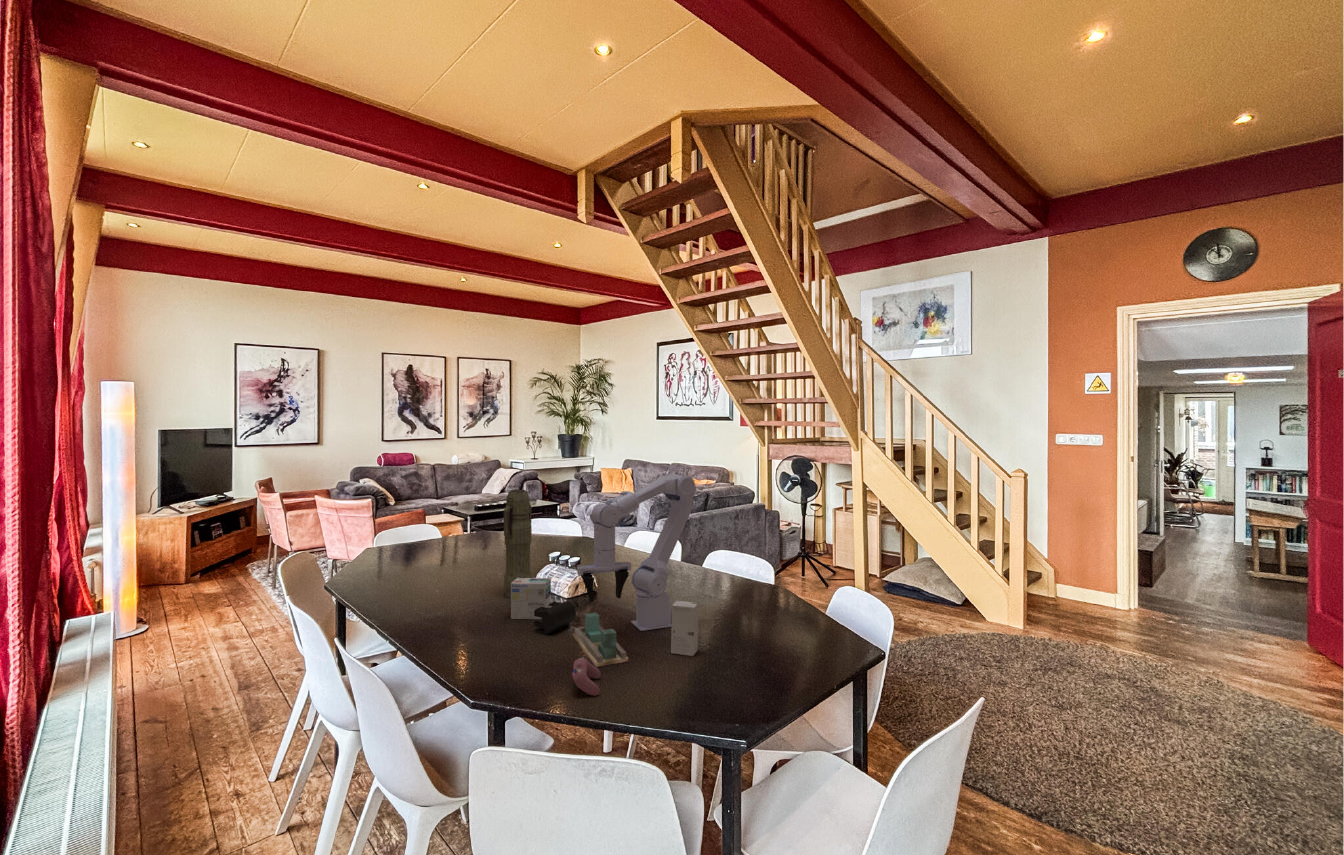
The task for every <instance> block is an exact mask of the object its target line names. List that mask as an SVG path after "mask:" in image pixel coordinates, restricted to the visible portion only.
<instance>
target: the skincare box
mask: <svg viewBox="0 0 1344 855" xmlns="http://www.w3.org/2000/svg"><path fill="white" fill-rule="evenodd" d="M699 607H700V604H699V602H694V601H693V602H692V601H682V600H676V601H675V602H674V603H673V604H671V624H672V626H671V630H670V631H671V632H670V633H671V636H670V637H671V639H670V641H671V642H670V643H671V644H670V653H671V654H677V655H682V656H689V657H693V656H695V654H696V653H697V651H698V648H699V646H698V645H699V644H698V643H699V641H698V640H699V639H698V638H699V613H700V612H699Z"/></svg>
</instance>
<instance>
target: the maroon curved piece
mask: <svg viewBox="0 0 1344 855" xmlns="http://www.w3.org/2000/svg"><path fill="white" fill-rule="evenodd" d="M572 666H573V672H571V675H572V680H573V681H574V684H575V686H576V687H577V688H579V689H580V690H581V691H582V692H584V693H586V694H587V695H590V696H591V697H592V696H593V697H594V696H595V697H596V696H598V695H599V694H600V692H601V690H600V687H599V686H598V684H597V683H596V682H594V681H592V679H594V680H595V679H600V678H601V675H602V673H601V671H600V669H599V668H598V667H596V666H595V665H594V664H593V663H591V662H590V661H589V660H588V659H587V658H585V657H584V656H583V657H581V658H577V659H575V660H574V661H573V665H572Z"/></svg>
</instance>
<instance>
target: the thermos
mask: <svg viewBox="0 0 1344 855" xmlns="http://www.w3.org/2000/svg"><path fill="white" fill-rule="evenodd" d="M530 500H531V499H530V496H529V493H528V491H527V490H525V489H512V490H510V491H508V493H507V497H506V504H505V505H506V506H504V509H503V537H504V545H505V573H504V580H503V581H504V583H503V584H504V585H503V587H504V588H503V589H504V597H505V598H507V599H511V583H512V582H513V581H514V580H515V579H517V578H533V577H532V576H533V574H532V572H531V544H532V538H533V536H532V532H533V531H532V505H531V503H530Z"/></svg>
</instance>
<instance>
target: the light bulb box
mask: <svg viewBox="0 0 1344 855" xmlns="http://www.w3.org/2000/svg"><path fill="white" fill-rule="evenodd" d="M551 581H552V578H551V577H532V578H517V579H515V580H514V581H513V582H512V583H511V598H510V620H542V618H541V617H536V616H534V611H535V609H537V608H540V607H545V608H551V607H552V606H549V604H550V603H552V585H551V584H552V582H551Z"/></svg>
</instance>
